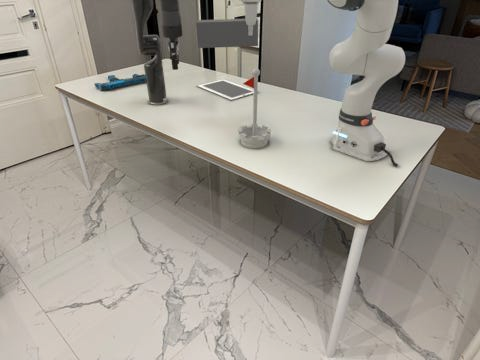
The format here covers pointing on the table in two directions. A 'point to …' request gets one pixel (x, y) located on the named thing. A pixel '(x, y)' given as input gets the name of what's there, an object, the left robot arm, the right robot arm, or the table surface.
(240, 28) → the box
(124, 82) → the submachine gun
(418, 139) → the table surface
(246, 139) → the flag stand
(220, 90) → the tablet
